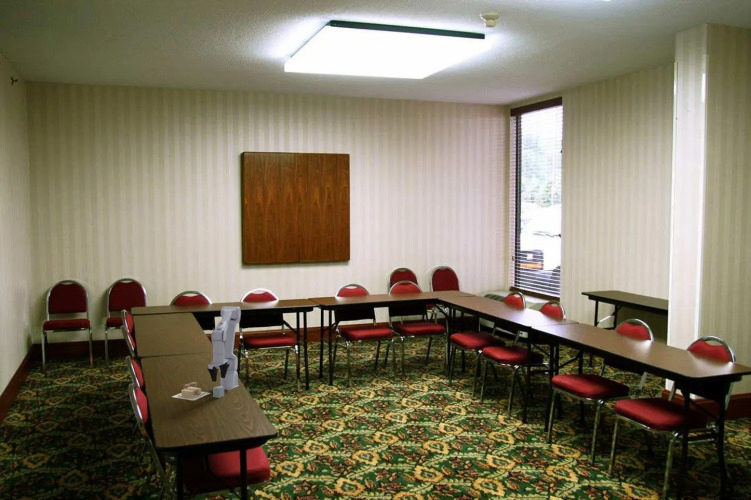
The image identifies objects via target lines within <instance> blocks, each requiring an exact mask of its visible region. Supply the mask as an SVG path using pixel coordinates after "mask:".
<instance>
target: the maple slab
mask: <svg viewBox="0 0 751 500" xmlns="http://www.w3.org/2000/svg"><path fill="white" fill-rule="evenodd" d="M201 392H202V388H200V387H198V388H196V387H188V388H186V389H183V388H182V389H181V391H180V393H181V396H185V397H192V398H193V397H195V396H198V395H200V394H201Z"/></svg>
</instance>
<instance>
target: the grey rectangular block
mask: <svg viewBox="0 0 751 500" xmlns="http://www.w3.org/2000/svg"><path fill="white" fill-rule="evenodd" d="M223 397H225V389H224V387H221V385H218V386H214V387H213V388H212V398H218V399H221V398H223Z"/></svg>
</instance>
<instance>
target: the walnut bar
mask: <svg viewBox="0 0 751 500" xmlns="http://www.w3.org/2000/svg"><path fill="white" fill-rule="evenodd" d="M198 385H199V384H198V382H196V381H192V382H189V383H185V384H183V388H182V390H183V389H186V388H188V387H196V388H199V387H198Z"/></svg>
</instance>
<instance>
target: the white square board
mask: <svg viewBox="0 0 751 500" xmlns="http://www.w3.org/2000/svg"><path fill="white" fill-rule="evenodd" d="M210 394H211V392H207V391H201V394H200V395H198V396H195V397H193V398H192V397H185V396H181V392H180V393H177V394H175V395H173V396H171V398H177V399H180V400H181V399H182V400H188V401H196V400H198V399H201V398H202V397H205V396H207V395H210Z"/></svg>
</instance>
